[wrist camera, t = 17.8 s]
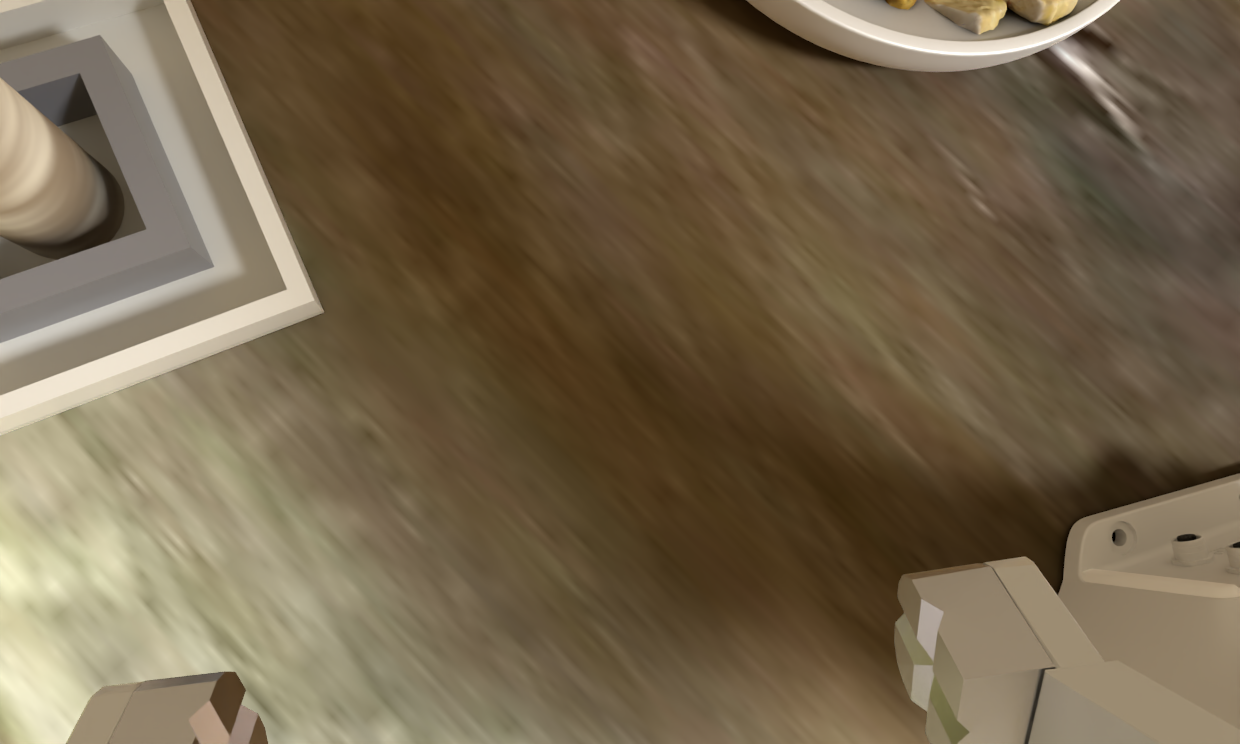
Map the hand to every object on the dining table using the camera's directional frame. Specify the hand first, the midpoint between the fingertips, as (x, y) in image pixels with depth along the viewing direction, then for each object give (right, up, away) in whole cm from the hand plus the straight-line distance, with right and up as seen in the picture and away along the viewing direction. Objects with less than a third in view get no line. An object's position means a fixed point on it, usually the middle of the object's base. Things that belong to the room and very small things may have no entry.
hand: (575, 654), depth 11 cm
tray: (-23, +10, +25) cm, 35 cm away
